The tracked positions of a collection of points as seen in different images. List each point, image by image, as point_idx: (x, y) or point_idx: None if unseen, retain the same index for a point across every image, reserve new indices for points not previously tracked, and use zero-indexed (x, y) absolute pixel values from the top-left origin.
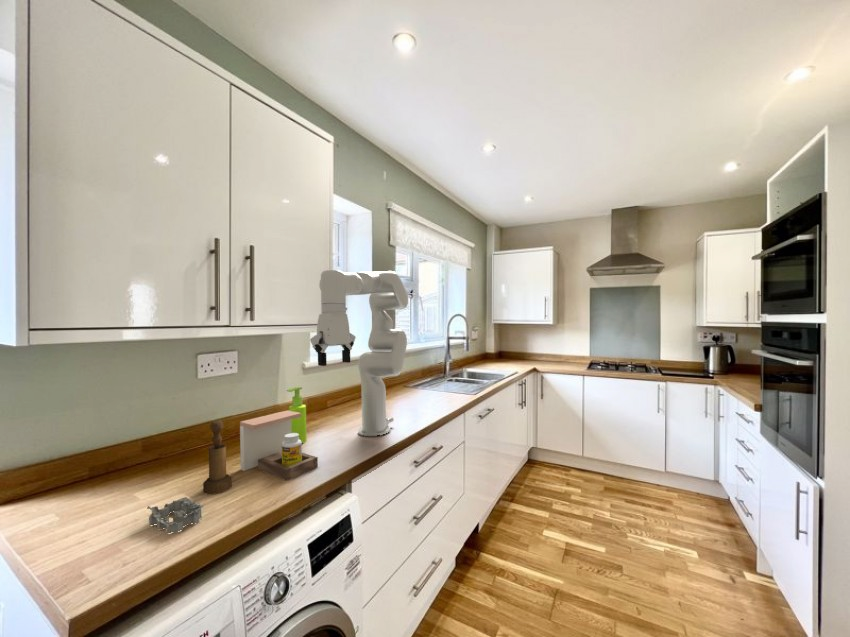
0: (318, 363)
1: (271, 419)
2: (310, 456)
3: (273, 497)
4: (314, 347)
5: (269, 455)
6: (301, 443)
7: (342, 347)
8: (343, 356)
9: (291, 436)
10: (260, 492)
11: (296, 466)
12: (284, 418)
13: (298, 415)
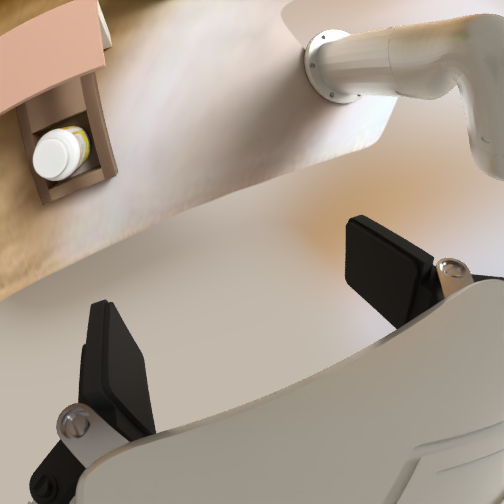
0: (92, 314)
1: (2, 96)
2: (105, 159)
3: (25, 251)
4: (49, 483)
5: None
6: (77, 164)
7: (442, 283)
8: (376, 254)
9: (45, 174)
10: (9, 220)
11: (64, 195)
12: (38, 92)
13: (93, 70)
